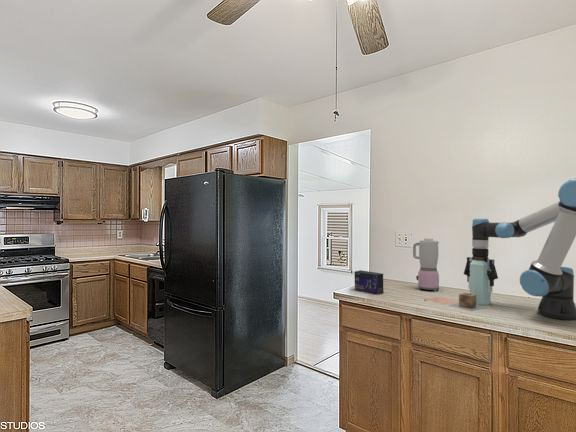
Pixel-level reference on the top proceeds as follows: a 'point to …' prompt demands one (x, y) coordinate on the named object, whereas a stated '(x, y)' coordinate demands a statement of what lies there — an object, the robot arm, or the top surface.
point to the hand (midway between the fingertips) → (480, 290)
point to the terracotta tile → (441, 300)
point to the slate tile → (468, 308)
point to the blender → (427, 264)
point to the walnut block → (467, 300)
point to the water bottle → (480, 280)
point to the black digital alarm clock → (369, 282)
